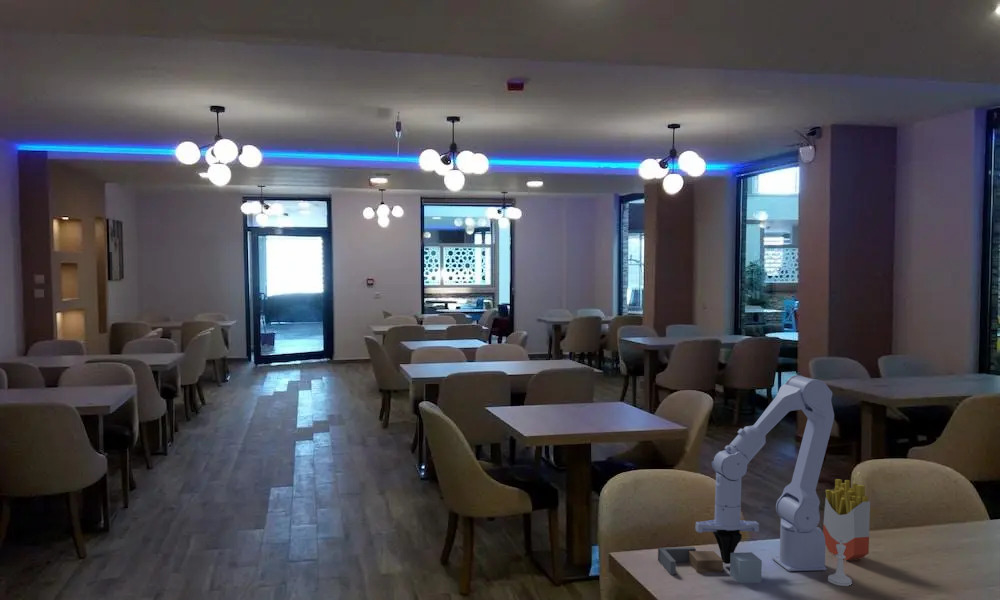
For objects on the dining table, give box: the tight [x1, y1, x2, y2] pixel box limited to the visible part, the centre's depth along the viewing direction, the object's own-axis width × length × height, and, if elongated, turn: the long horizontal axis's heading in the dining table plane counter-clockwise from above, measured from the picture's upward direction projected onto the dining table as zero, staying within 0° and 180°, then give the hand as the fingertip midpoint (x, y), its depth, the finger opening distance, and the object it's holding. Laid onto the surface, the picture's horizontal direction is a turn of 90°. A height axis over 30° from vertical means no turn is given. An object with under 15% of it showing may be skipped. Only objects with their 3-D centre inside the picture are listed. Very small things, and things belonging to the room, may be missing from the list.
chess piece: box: [827, 537, 853, 587], centre depth 167 cm, size 5×5×10 cm
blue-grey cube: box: [729, 551, 763, 584], centre depth 168 cm, size 5×5×5 cm
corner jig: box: [657, 546, 697, 576], centre depth 174 cm, size 9×9×3 cm
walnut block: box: [688, 550, 724, 573], centre depth 174 cm, size 6×6×3 cm
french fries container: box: [822, 478, 871, 561], centre depth 183 cm, size 5×11×18 cm, turn 15°
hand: (726, 562), depth 174 cm, fingers closed
